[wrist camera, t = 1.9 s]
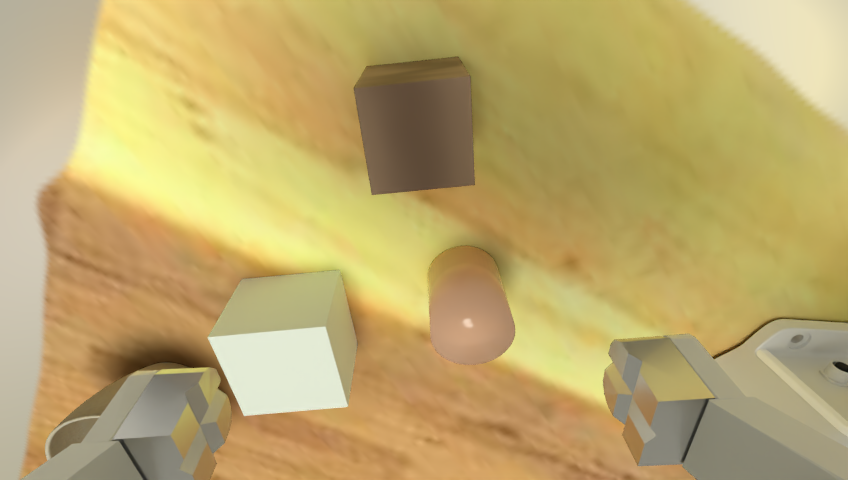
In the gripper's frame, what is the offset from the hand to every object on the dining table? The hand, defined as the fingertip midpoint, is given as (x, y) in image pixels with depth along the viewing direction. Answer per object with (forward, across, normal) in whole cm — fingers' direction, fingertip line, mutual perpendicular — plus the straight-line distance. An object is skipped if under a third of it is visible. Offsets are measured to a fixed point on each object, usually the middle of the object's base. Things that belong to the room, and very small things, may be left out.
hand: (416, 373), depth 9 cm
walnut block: (+19, -1, -1) cm, 19 cm away
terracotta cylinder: (+19, -3, +11) cm, 22 cm away
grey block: (+19, +9, +13) cm, 25 cm away
